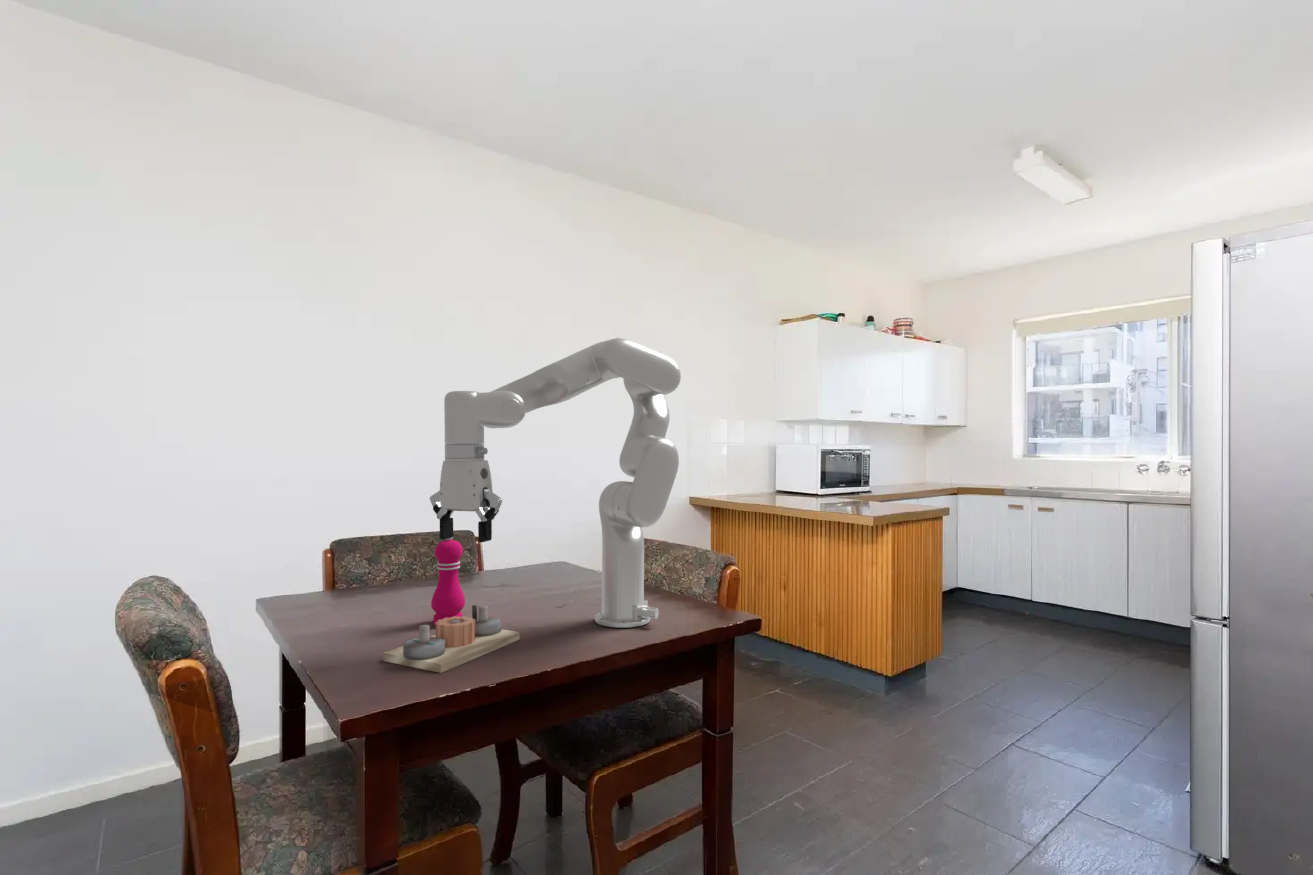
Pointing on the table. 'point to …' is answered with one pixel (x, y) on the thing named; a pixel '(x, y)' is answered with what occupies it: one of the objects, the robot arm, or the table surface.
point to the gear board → (440, 659)
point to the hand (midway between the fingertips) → (465, 539)
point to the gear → (456, 631)
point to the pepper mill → (448, 581)
